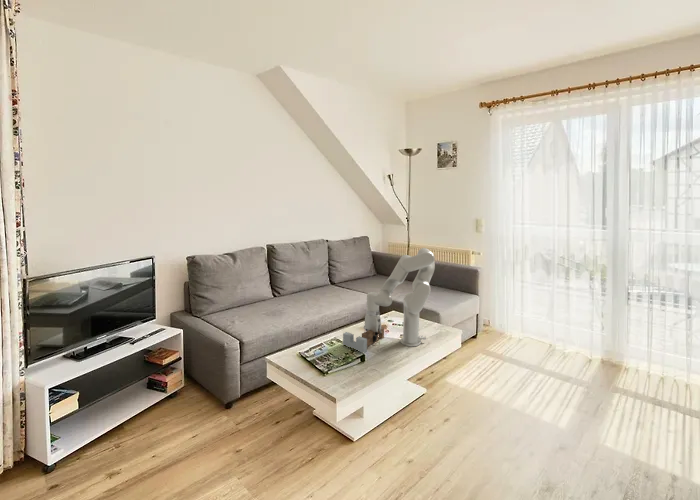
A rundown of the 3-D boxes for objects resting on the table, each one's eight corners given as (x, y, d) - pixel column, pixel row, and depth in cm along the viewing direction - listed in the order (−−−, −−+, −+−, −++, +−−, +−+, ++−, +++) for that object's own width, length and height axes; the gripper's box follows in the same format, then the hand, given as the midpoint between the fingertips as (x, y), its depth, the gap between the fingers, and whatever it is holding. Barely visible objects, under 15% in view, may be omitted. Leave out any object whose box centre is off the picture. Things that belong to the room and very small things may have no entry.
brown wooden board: (380, 336, 251) (380, 324, 249) (383, 337, 249) (384, 325, 247) (361, 346, 237) (361, 333, 235) (365, 347, 235) (365, 334, 233)
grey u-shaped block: (343, 345, 237) (343, 333, 235) (346, 344, 239) (346, 331, 238) (363, 353, 227) (363, 340, 225) (366, 351, 229) (367, 338, 227)
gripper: (387, 313, 236) (386, 342, 239) (366, 308, 247) (365, 335, 250) (379, 317, 231) (379, 346, 234) (358, 311, 241) (358, 339, 244)
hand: (372, 340), depth 242 cm, fingers closed on brown wooden board, 3 cm apart
